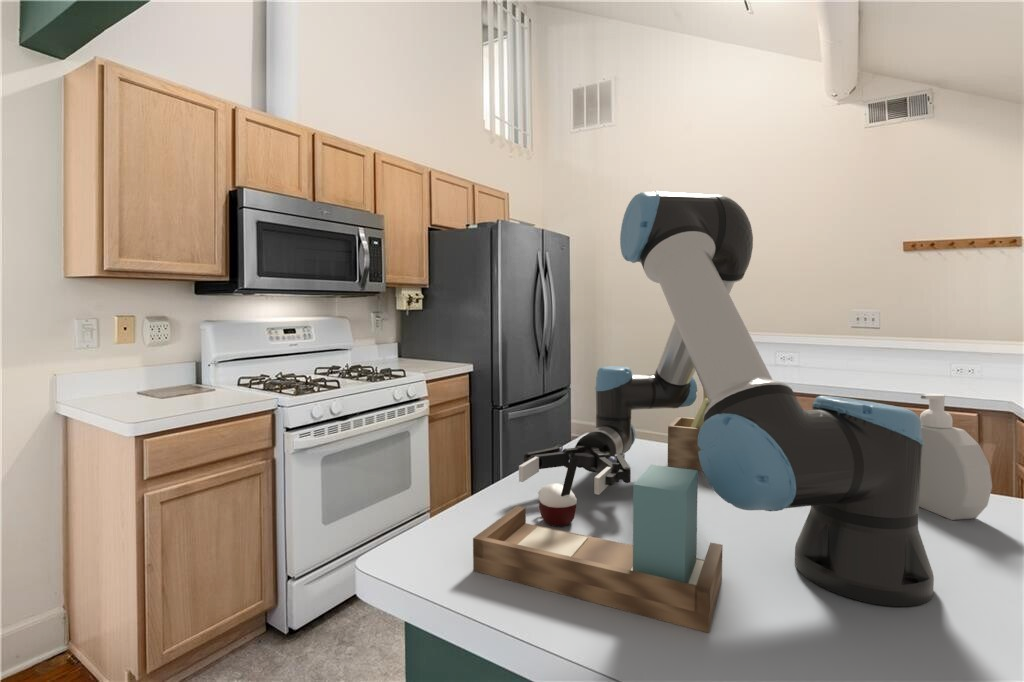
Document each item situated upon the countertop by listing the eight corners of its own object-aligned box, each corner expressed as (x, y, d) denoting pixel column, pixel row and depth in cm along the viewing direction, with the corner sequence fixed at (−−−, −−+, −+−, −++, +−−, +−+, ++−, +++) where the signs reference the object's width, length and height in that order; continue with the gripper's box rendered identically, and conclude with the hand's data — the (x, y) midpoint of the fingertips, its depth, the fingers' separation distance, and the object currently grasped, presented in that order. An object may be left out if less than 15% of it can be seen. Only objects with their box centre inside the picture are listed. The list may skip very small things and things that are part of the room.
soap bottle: (879, 492, 100) (883, 388, 99) (904, 490, 101) (908, 387, 100) (963, 526, 85) (969, 403, 83) (991, 524, 85) (997, 402, 84)
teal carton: (696, 561, 69) (697, 470, 68) (684, 594, 61) (685, 492, 60) (648, 551, 72) (649, 464, 71) (631, 581, 64) (632, 484, 63)
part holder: (801, 468, 115) (802, 427, 115) (802, 483, 105) (803, 439, 105) (677, 453, 128) (677, 416, 127) (667, 466, 118) (668, 426, 117)
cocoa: (535, 515, 91) (532, 446, 91) (571, 512, 92) (568, 443, 92) (545, 536, 82) (542, 459, 81) (585, 533, 82) (581, 456, 82)
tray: (721, 578, 69) (722, 544, 68) (708, 632, 57) (709, 592, 57) (517, 534, 83) (516, 505, 82) (473, 570, 71) (473, 538, 71)
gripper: (661, 476, 101) (631, 515, 82) (542, 459, 112) (492, 490, 94) (661, 437, 100) (631, 467, 81) (542, 424, 112) (492, 448, 93)
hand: (557, 479), depth 87 cm, fingers open, 13 cm apart
